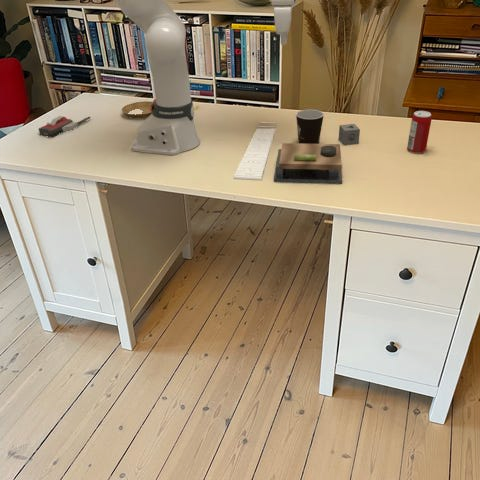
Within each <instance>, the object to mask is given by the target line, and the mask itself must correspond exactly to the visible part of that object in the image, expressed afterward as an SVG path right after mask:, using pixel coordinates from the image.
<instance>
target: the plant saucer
mask: <svg viewBox="0 0 480 480" xmlns="http://www.w3.org/2000/svg"><path fill="white" fill-rule="evenodd" d="M152 102H153V101H136V102H132V103H131V102H130V103H129V104H126V105H125V106H123V107H122V108H121V112H122V113H123V114H124V115H125V116H127V117H129V118H130V117H131V119H134V118H143V119H147V118H148V117H149V116H150V115H151V114H152V112H150V107H151V105H152ZM135 109H140V110H142V111H143V112H142V114H136V115H135V114H128V113H129V112H130V111H132V110H135Z"/></svg>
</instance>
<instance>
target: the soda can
mask: <svg viewBox="0 0 480 480" xmlns="http://www.w3.org/2000/svg"><path fill="white" fill-rule="evenodd" d="M431 124H432V114H431V112H429V111H425V110H417V111H415V112H413V115H412V118H411V123H410V129H409V134H408V138H407V139H408V141H407V146H406V149H407V150H408V152H409V153H412V154H417V155H418V154H419V155H420V154H422V153H425V152H426V150H427V146H428V141H429V134H430V131H431Z"/></svg>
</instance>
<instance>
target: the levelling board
mask: <svg viewBox="0 0 480 480" xmlns="http://www.w3.org/2000/svg"><path fill="white" fill-rule="evenodd" d="M280 149H281V155H280V162H279V169H322V170H342V167H343V163H342V161H343V160H342V152H341V151H342V150H341V144H340V143H319V144H299V142H298V143H295V142H294V143H291V142H290V143H289V142H287V143H285V142H282V143H281V148H280Z"/></svg>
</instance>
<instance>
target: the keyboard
mask: <svg viewBox="0 0 480 480" xmlns="http://www.w3.org/2000/svg"><path fill="white" fill-rule="evenodd" d="M259 123H260V124H261V123H265V124H278V122H276V121H275V122H274V121H259ZM257 127H260V128H256V130H255V132H254V134H253V136H252V137H251V140H250V142H249V144H248V146H247V148H246V150H245V153H244V154H243V157H242V158H241V161H240V163H239V164H238V166H237V169H236V171H235V173H234V175H233V180H241V181H243V180H244V181H245V180H246V181H263V175H264V174H265V173H264V172H265V169H266V167H267V166H266V165H267V163H268V158H269V154H270V150H271V148H272V144H273V143H272V142H273V139H274V135H275V131H276V126H275V125H273V126H269V125H266V126H265V125H257ZM261 127H263V128H261Z"/></svg>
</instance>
